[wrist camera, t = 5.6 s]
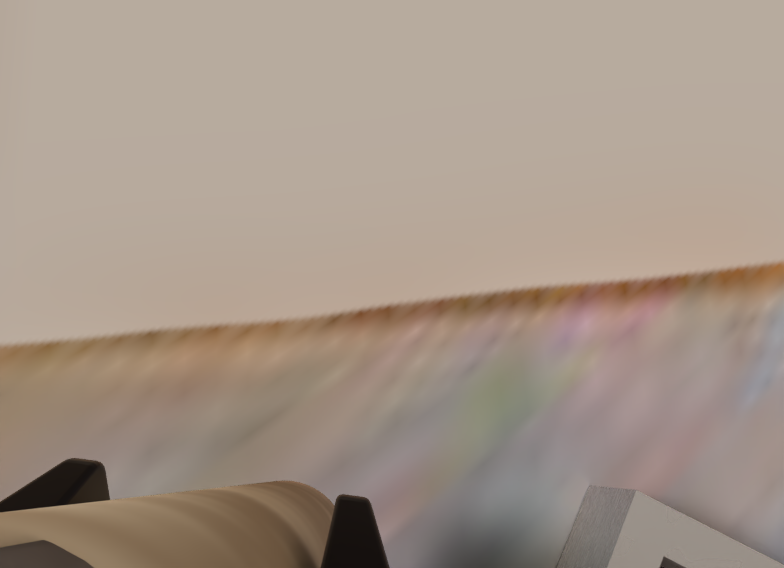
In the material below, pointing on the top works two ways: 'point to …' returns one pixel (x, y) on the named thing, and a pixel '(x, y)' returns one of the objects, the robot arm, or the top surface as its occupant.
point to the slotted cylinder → (175, 530)
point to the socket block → (648, 537)
